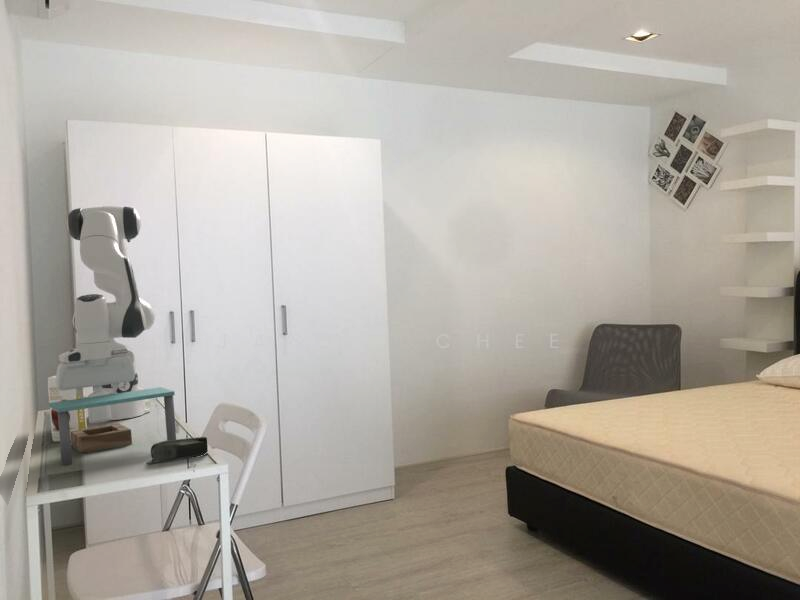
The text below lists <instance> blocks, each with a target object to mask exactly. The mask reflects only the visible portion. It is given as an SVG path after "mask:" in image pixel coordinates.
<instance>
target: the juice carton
mask: <svg viewBox="0 0 800 600" xmlns="http://www.w3.org/2000/svg"><path fill="white" fill-rule="evenodd" d="M47 390H48V391H47V392H48V393H47V394H48V404H49V403H53V402H60V401H67V400H74V399H81V397H80V396H79V395H78V394H77V392H76V389H70V390H59V389H58V388H57V386H56V375H52V376H49V377H47ZM81 393H82V394H83V396H84V397H86V396H85V388H83V392H81ZM86 409H87V408H86ZM86 409H79V410H73V411H68V414H69V427H70V431H75V430H81V429H87V428H88V425H87V412H86V411H87V410H86ZM49 417H50V420H49V421H50V430H51V437H52V441H53V442H54V443H55V442H56V443H58V442H59V443H60V436H59V423H58V412H57V411H55V410H53V409H52V408H50V407H49ZM70 440H71V432H70Z"/></svg>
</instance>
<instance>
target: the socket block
mask: <svg viewBox="0 0 800 600" xmlns="http://www.w3.org/2000/svg"><path fill="white" fill-rule="evenodd" d="M70 432H71V447H73V448H74V449H76V450H77V451H78V452H80V453H81V454H86V453H90V452H96V451H97V452H98V451H102V450H107V449H111V448H116V447H117V448H118V447H122V446H123V447H124V446H128V445H133V439H132V438H133V437H132V429H130V428H129V427H126V426H125V425H123V424H121V423H118V422H117V423H114V424H113V423H112V424H106V425H100V426H94V427H87V429H81V430H75V431H70Z"/></svg>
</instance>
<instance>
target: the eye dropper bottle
mask: <svg viewBox="0 0 800 600" xmlns="http://www.w3.org/2000/svg"><path fill="white" fill-rule="evenodd" d="M102 395H109V394H108V393H107V392H103V391H102V385H100V386H92V393H89V394H88V395H87V397H95V396H102ZM87 414H88V422H89V423H90V424H100V423H104V422H108V421H112V420H111V412H110V405H105V406H99V407H92V408H87Z"/></svg>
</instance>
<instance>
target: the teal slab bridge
mask: <svg viewBox="0 0 800 600" xmlns="http://www.w3.org/2000/svg"><path fill="white" fill-rule="evenodd" d="M174 396H175V391H174V390H171V389H168V388H165V387H162V386H161V387H160V386H159V387H151V388H146V389H143V390H137V391H130V392H123V393H116V394H109V395H102V396H95V397H88V396H87V397H88V398H81V399H74V400H67V401H60V402H53V403H49V402H48V405H49V407H48V408H49V409H50V408H52V409H53V410H55V411H57V412H58V423H59V436H60V442H59V446H60V447H59V448H60V460H61V466H63V465H65V466H69V465H70V466H71V465H72V464H73V456H72V455H73V454H72V445H71V440H70V427H69V414H68V411H73V410H79V409H88V408H92V407H99V406H105V405H112V404H119V403H125V402H132V401H138V400H144V401H145V400H151V399H158V398H163V401H164V402H163V403H164V416H165V430H166V431H165V432H166V441H168V440H177V430H176V420H175V419H176V418H175V404H174V403H175V402H174Z"/></svg>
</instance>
